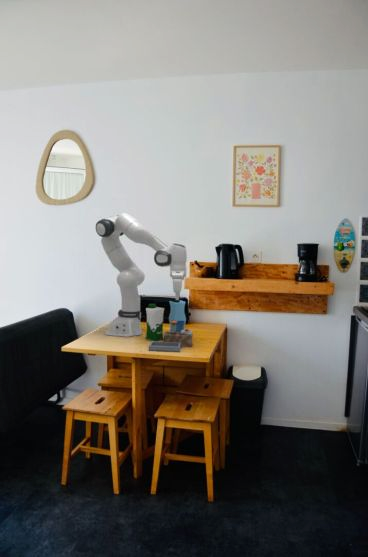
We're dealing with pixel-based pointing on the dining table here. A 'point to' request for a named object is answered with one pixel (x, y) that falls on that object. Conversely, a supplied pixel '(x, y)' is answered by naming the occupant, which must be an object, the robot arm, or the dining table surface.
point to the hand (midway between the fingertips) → (177, 298)
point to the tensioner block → (179, 337)
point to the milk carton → (154, 322)
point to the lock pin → (173, 326)
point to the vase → (178, 315)
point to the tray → (165, 346)
